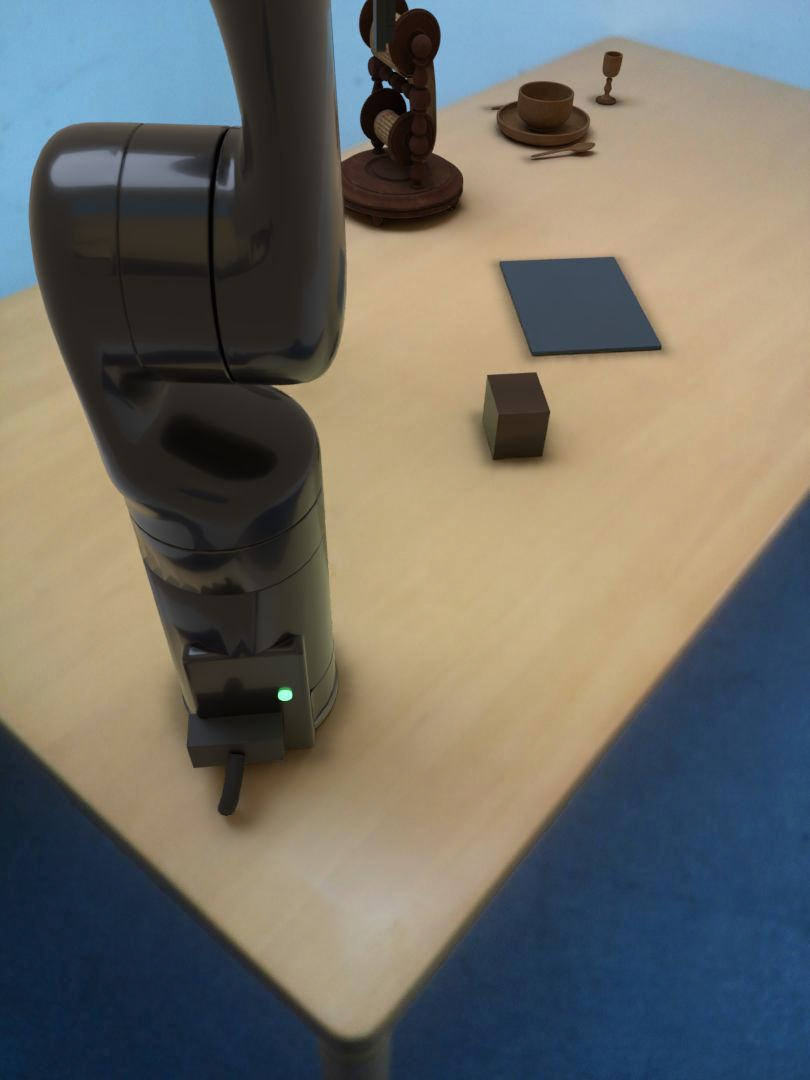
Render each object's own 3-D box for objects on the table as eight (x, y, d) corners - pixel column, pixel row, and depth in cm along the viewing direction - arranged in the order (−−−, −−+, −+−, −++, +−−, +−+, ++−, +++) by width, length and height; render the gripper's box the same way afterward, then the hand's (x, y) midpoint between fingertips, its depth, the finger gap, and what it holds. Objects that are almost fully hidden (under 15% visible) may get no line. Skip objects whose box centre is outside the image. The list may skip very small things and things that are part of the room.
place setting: (473, 108, 117) (477, 61, 113) (608, 94, 121) (616, 48, 117) (524, 163, 106) (530, 112, 101) (671, 145, 110) (682, 96, 106)
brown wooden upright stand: (486, 214, 96) (504, 11, 82) (365, 242, 92) (362, 31, 77) (423, 162, 105) (430, -30, 91) (310, 185, 100) (298, -14, 86)
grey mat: (661, 349, 79) (662, 345, 79) (531, 355, 78) (532, 352, 78) (613, 260, 90) (614, 256, 90) (499, 264, 89) (499, 260, 89)
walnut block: (542, 456, 69) (550, 411, 66) (492, 459, 69) (498, 414, 65) (529, 416, 72) (536, 371, 69) (482, 419, 72) (486, 374, 69)
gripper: (175, -256, 47) (217, 71, 58) (438, -252, 48) (427, 66, 60) (182, -267, 52) (219, 35, 63) (419, -264, 53) (412, 32, 65)
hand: (320, 50), depth 62 cm, fingers open, 8 cm apart
